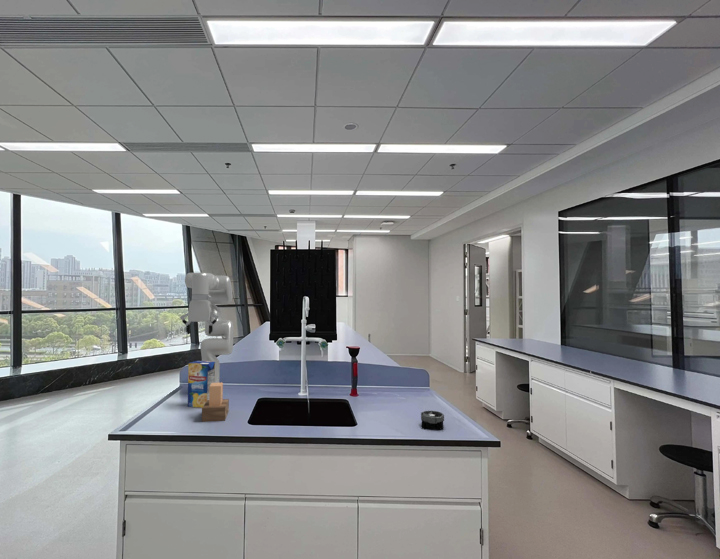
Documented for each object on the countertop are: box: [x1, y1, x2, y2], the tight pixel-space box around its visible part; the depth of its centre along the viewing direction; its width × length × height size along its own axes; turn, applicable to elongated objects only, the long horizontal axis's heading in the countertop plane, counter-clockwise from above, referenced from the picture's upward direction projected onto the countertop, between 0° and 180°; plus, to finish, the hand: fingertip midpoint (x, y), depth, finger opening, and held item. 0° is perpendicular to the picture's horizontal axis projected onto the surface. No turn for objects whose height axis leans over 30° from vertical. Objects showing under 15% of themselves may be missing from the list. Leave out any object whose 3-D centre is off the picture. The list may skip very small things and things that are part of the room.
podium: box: [201, 398, 230, 423], centre depth 188 cm, size 14×10×6 cm
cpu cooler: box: [420, 410, 445, 431], centre depth 177 cm, size 10×6×10 cm
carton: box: [209, 381, 224, 406], centre depth 188 cm, size 7×5×9 cm
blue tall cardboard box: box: [187, 360, 215, 409], centre depth 206 cm, size 7×11×22 cm, turn 79°
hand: (199, 333), depth 193 cm, fingers open, 9 cm apart
